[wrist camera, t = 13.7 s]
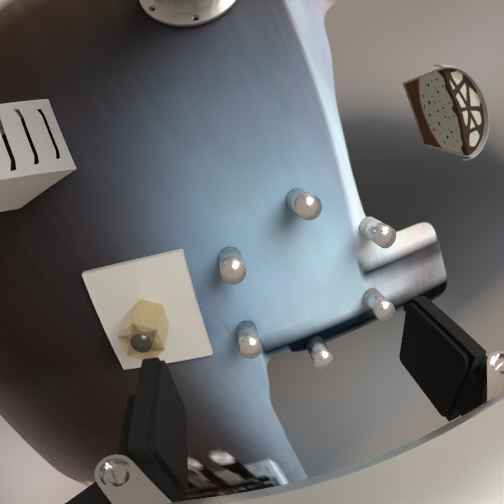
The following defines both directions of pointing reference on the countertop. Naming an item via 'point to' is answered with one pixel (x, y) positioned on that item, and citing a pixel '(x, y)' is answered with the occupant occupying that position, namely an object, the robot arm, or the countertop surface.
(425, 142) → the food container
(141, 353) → the faceted candle holder
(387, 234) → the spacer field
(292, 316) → the countertop surface
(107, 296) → the mat
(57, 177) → the grater
